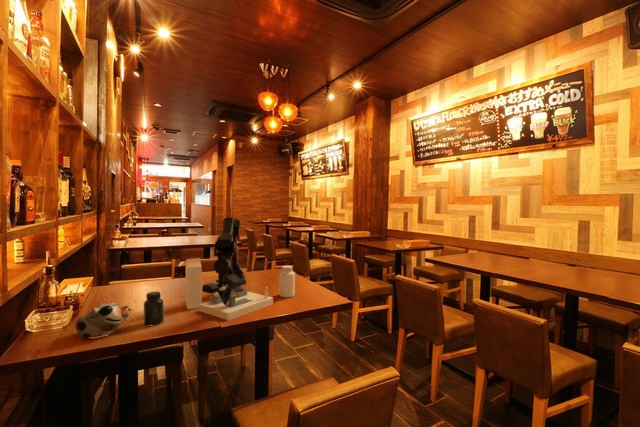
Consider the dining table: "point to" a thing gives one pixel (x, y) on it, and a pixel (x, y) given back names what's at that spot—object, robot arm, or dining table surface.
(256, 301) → the console
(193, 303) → the milk
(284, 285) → the pill bottle
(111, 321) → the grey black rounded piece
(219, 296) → the pale yellow button
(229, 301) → the slider
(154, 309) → the supplement bottle
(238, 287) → the grey dome
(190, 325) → the dining table surface
